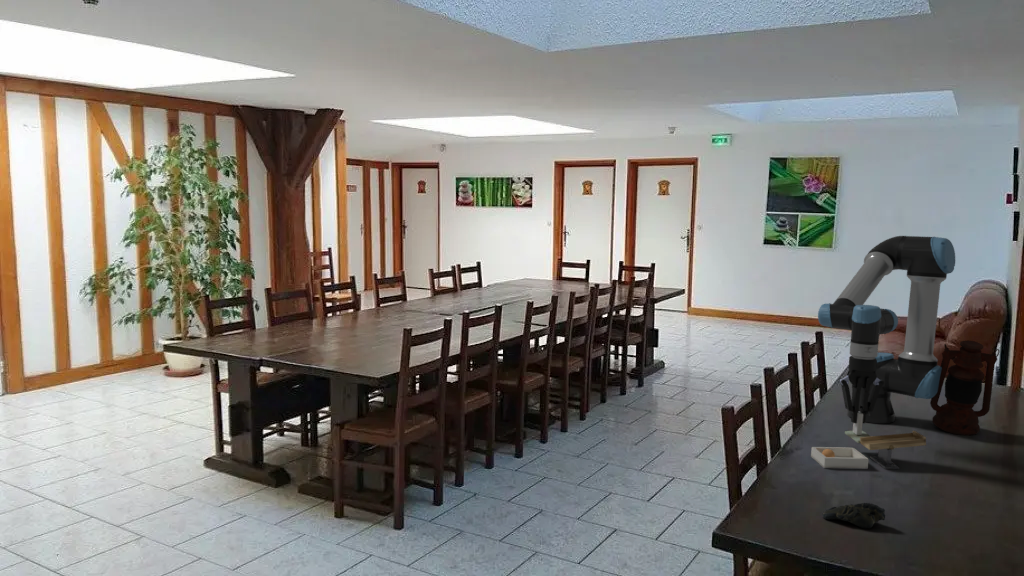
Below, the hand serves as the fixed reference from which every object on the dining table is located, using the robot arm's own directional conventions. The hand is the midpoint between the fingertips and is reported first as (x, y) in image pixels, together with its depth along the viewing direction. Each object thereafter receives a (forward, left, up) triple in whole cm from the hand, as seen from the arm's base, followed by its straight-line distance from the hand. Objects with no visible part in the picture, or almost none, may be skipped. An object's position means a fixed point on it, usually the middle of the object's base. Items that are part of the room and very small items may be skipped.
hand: (857, 433), depth 218 cm
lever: (+4, +6, -1) cm, 8 cm away
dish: (+8, -9, -6) cm, 14 cm away
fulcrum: (+8, +4, -6) cm, 11 cm away
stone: (+48, -23, -7) cm, 54 cm away
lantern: (-26, +45, -5) cm, 52 cm away
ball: (+8, -12, -4) cm, 15 cm away
